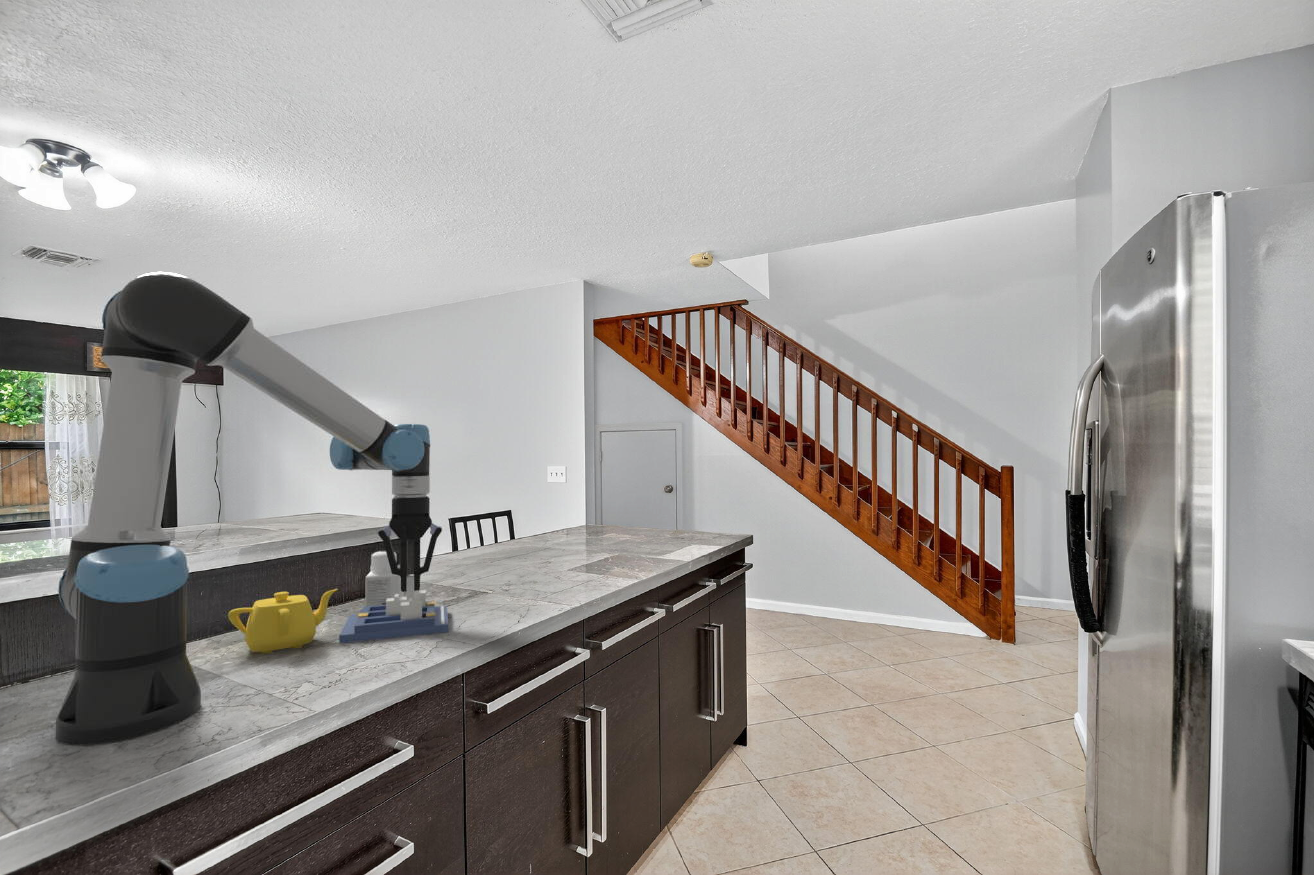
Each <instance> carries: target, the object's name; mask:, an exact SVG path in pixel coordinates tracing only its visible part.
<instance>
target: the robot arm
mask: <svg viewBox="0 0 1314 875" xmlns="http://www.w3.org/2000/svg"><path fill="white" fill-rule="evenodd" d="M101 317H102V318H101V323H102V329H103V332H104V336H103V342H102V347H101V348H102V349H101V353H100V354H101V355H100V361H102V362H103V363H104V364H105V365H106V367H108V368H109V370H110V371H111V376H110V382H109V383H110V384H109V389H108V395H107V401H106V408H105V414H104V420H103V426H102V432H101V439H100V446H99V452H98V460H97V465H96V471H95V478H94V482H93V483H94V484H93V490H92V497H91V503H90V509H89V516H88V522H87V526H86V527H85V528H84V529H82V530H81V531H79V532H77V533H76V534H75V535H73V536H72V537H71V542H70V547H69V548H70V549H69V553H68V560H67V566H66V568H65V570H64V571H63V572H62V576H60V579H59V582H58V589H57V590H58V591H57V592H58V598H59V601H60V604H61V605H62V607H63V608H64V611H66V612H67V614H68V615H69V616H71V617H72V618H74V619H75V620H74V621H75V656H74V657H75V663H74V664H75V666H74V670H75V671H74V676H73V678H72V680H71V684H70V685H69V687H68V688H69V689H68V691H67V693H66V695H65V698H64V700H63V702H62V705H61V707H60V709H59V712H58V715H57V717H56V720H55V739H56V741H58V743H61V744H66V745H72V746H73V745H74V746H77V745H78V746H79V745H80V746H81V745H85V746H86V745H98V744H104V743H113V742H117V741H122V740H128V739H131V738H136V737H140V736H142V735H146V734H150V733H153V732H157V731H159V730H162V729H165V728H167V727H170V726H172V725H175V724H177V723H179V722H181V721H183V720H185V719H188V718H189V717H191V716H192V715H193V714H194V713H196V712H197V711H199V709H200V707H201V704H202V697H201V696H202V690H201V686H200V684H199V681H198V679H197V677H196V675H195V672H194V670H193V668H192V666H191V662H190V660H189V657H188V655H187V628H188V627H187V618H188V617H187V615H188V610H187V609H188V608H187V607H188V579H189V572H190V569H189V566H188V560H187V557H186V554H185V552H184V551H182V550H181V549H179V548H177V547H174V546H171V540H172V538H171V537H172V536H170V535H169V534H168V533H167V532H166V531H165V530H164V529H163V528H162V526H161V525H162V520H163V513H164V505H165V499H166V491H167V485H168V479H169V472H170V464H171V457H172V451H173V450H172V449H173V444H174V437H175V431H176V430H175V429H176V423H177V416H178V411H179V403H180V397H181V396H180V395H181V389H182V383H183V381H184V380H185V379H187V378H189V377H191V376H192V375H194V374H196V373H195V372H196V367H197V360H198V361H200V362H201V363H203V364H205V365H206V366H208V367H209V366H210V367H212V366H220V367H222V368H224V369H225V370H227V371H228V372H230V373H232V374H233V375H235V376H237V377H238V378H240V379H242V380H243V381H244V382H246V383H248V384H249V385H251V386H252V387H253V388H256V389H257V390H259V391H260V392H262V393H264V394H265V395H267V396H269V397H270V398H271V399H273V400H275V401H276V402H278V403H280V404H281V405H283V406H285V407H286V408H287V409H290V411H292V412H294V413H296V414H297V415H299V416H301V417H302V418H303V419H305V420H307V421H308V422H310V423H311V424H313V425H315V426H316V427H318V428H320V429H321V430H323V431H324V432H326V433H328V434H329V435H331V436H332V439H331V441H330V445H329V458H330V461H331V464H332V466H333V467H334V468H335V469H336V470H341V471H342V470H343V471H346V470H347V471H358V470H359V471H360V470H365V471H368V470H369V471H370V470H371V471H373V470H374V471H382V470H383V471H391V494H392V495H393V496H394V497H393V498H391V518H390V520H389V522H388V525H386V526H385V527H383V528H380V529H379V531H378V532H377V535H378V536H379V538H380V539H381V540H382V542H383V545H384V550H386V553H387V557H388V561H389V565H390V569H391V572H392V574H394V575H399V576H400V577H401V591H402V592H404V593H405V592H406V593H407V594H406V593H405V597H406V602H409V599H410V598H414V591H420V589H421V575H422V574H425V573H428V572H429V570H430V567H431V563H432V559H433V555H434V553H435V552H434V551H435V547H436V542H437V540H438V537H439V536H440V535H441V533H442V531H443V528H442V526H439V525H437V524H435V523H433V520H432V518H431V515H430V509H431V508H430V503H431V502H430V499H431V498H430V497H429V496H427V495H429V494H430V492H431V491H430V488H431V487H430V484H431V482H430V479H431V478H430V477H431V476H430V461H431V460H430V456H431V455H430V453H431V438H430V430H429V427H428V426H427V425H425V424H419V423H418V424H416V423H399V424H398V423H397V424H392V423H391V422H389V421H388V420H386V419H385V418H383V417H381V416H380V414H377V413H376V412H374V411H373V410H372V409H370V408H369V407H367V406H366V405H364V404H363V403H361V402H360V401H359V400H357V399H356V398H354V397H353V396H352V395H350V394H349V393H348V392H346V391H344V390H343V389H341V388H340V387H339V386H338V385H336V384H335V383H333V382H331V381H330V380H329V379H328V378H326V377H324V376H323V375H321V374H320V373H319V372H318V371H316V370H314V369H313V368H311V367H310V366H308V365H307V364H306V363H304V362H302V361H301V360H300V359H298V358H297V357H296V356H294V355H293V354H292V353H290V352H289V351H287V350H285V349H284V348H283V347H282V346H280V345H279V344H277V343H276V342H275V341H273V340H271V339H270V338H269V337H267V336H265V335H264V334H263V333H261V332H260V331H258V330H257V329H255V326H254V322H253V319H252V318H251V317H250V316H249V315H247V314H245V313H244V312H243V311H241V310H240V309H238V308H237V307H236V306H235V305H233V304H231V303H230V302H229V301H227V300H226V299H224V298H223V297H221V296H220V295H218V294H217V293H216V292H214V291H213V290H211V289H210V288H208V287H206V286H205V285H203V284H202V283H200V282H198V281H196V280H195V279H192V278H189V277H187V276H184V275H181V274H178V273H173V272H164V271H157V272H150V273H145V274H141V275H139V276H137V277H135V278H134V279H132V280H130V281H129V282H128V283H127V284H126V285H125V286H124V287H123V288H122V290H120V291H118V292H116V293H115V294H114V295H113V296H112V297H111V298H110V299H109V300H108V301H107V303H106V304H105V306H104V309H103V312H102V316H101ZM429 529H430V532H429V534H430V540H429V542H428V548H427V551H426V554H425V560H424V562H423V566H421V538H423V537H424V536H425V534H426V532H428V530H429ZM392 531H393V533H394V534H395V535H396V536H397V538H398V539H400V568H398V566H397V562H396V558H395V554H394V551H393V550H394V547H393V543H392V540H391V536H392ZM409 540H413V574H408V551H409V550H408V541H409Z"/></svg>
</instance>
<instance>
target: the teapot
mask: <svg viewBox="0 0 1314 875" xmlns="http://www.w3.org/2000/svg"><path fill="white" fill-rule="evenodd" d="M337 590H338V588H335V589H331V590H328V591H326V592H324V593H323V594H322V596H321V599H320V603H319V606H318V608H317V610H315V611H313V609H312V605H311V604H310V601H309V599H308V597H307V596H306V595H304V594H296V595H295V594H294V595H289V594H290V592H288V591H280V592H275V593H274V594H273V596H274V597H272V598H271V597H270V598H264V599H258V600H256V601H255V602H253V604H252V607H238V608H234V609H231V610H230V611H229V612H228V614H227V616H228V617H227V618H228V619H229V621H230V622H231V624H232V625H233V626H234V627H235V628H236V629H238V630H239V631H240V632H241V633H243V634H244V637H245V638H244V640H245V643H246V645H247V647H248V649H249V650H250V652H252V653H260V654H261V655H268V654H271V653H273V652H274V651H278V650H283V649H284V650H285V649H289V648H290V649H293V650H294V649H295V650H296V649H301V648H303V646H304V645H307V644H310V643H312V642H313V640H314V638H315V635H316V632H317V629H316V628H317V627H318V626H319V625H320V624H321V623H322V622H323V621H324V619H325V618H326V615H327V611H328V603H329V600H330V598H331V596H332V595H333V594H334V593H335V592H336V591H337ZM245 613H249V616H248V618H247V623H246V627H245V625H244V624H243V622H242V620H241V619H240V615H241V614H245Z"/></svg>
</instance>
